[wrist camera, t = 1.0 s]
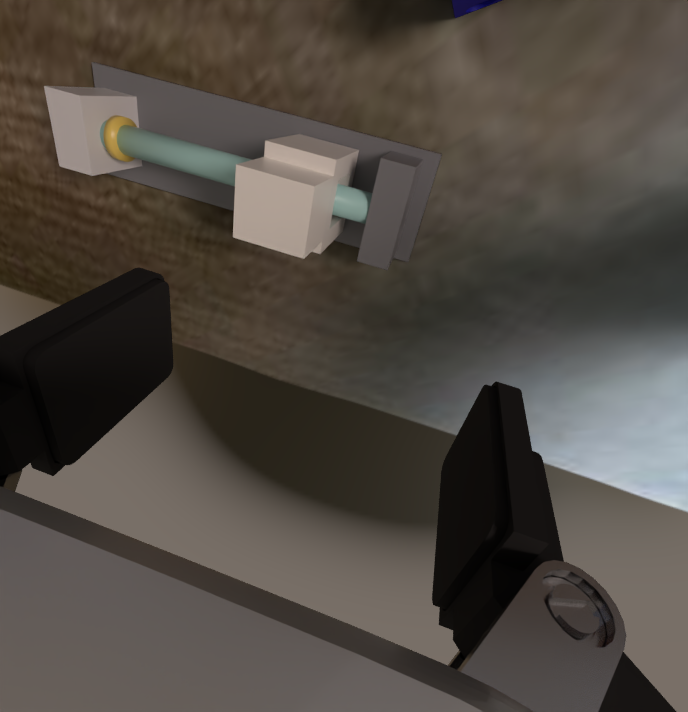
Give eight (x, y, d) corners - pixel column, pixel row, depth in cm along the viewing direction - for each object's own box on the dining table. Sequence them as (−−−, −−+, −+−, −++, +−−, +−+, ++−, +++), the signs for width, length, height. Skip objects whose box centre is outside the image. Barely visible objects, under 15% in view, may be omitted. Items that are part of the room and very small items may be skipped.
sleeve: (359, 150, 25) (317, 168, 18) (342, 231, 28) (301, 272, 21) (299, 134, 25) (236, 146, 19) (289, 215, 28) (232, 251, 22)
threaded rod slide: (442, 153, 25) (436, 164, 20) (408, 260, 29) (398, 288, 24) (96, 62, 27) (26, 55, 23) (110, 172, 31) (53, 184, 27)
